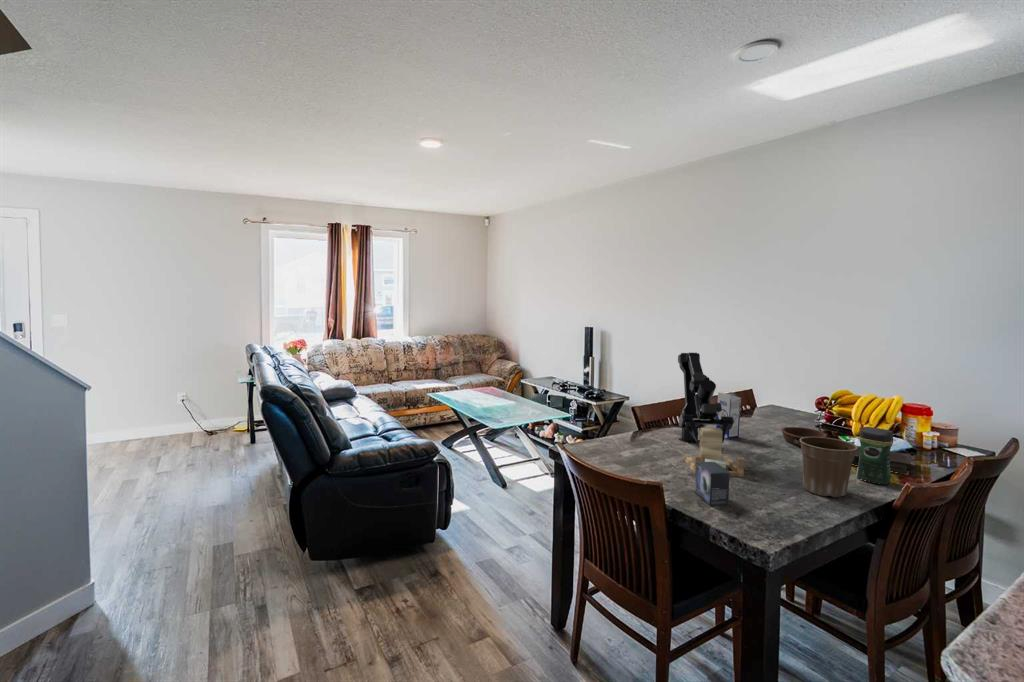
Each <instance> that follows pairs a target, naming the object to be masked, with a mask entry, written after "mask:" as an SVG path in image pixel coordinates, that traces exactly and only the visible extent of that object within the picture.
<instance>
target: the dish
mask: <svg viewBox="0 0 1024 682" xmlns="http://www.w3.org/2000/svg"><path fill="white" fill-rule="evenodd" d="M780 431H781V433H782V437H783V439H784V440H785V441H786V442H787V443H790V444H794V445H797V446H799V447H801V442H800V438H803V437H825V438H827V433H825V432H823V431H821V430H817V429H813V428H809V427H803V426H799V427H798V426H786V427H782V428H780Z"/></svg>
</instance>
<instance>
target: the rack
mask: <svg viewBox="0 0 1024 682" xmlns="http://www.w3.org/2000/svg"><path fill="white" fill-rule="evenodd" d="M684 461H685V462H686V464H687V465H688V467H689V468H690V469H691V471H692V472H693V474H694V475H695V476H696V467H697V462H701V457H700V456H699V455H694V458H693V459H692V457H691V456H690V454H684ZM723 461H726V466H727V467H728V468H729V469H731V470H728V471H729V472H730V477H741V478H744V471H745V470H744V469H745V458H744V457H742V456H741V457H739V456H738V457H737V458H736V463H735V462H734V461H733V460H732V459H731V458H730V457H729V456H727V455H724V456H723Z"/></svg>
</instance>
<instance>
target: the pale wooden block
mask: <svg viewBox="0 0 1024 682" xmlns="http://www.w3.org/2000/svg"><path fill="white" fill-rule="evenodd" d="M699 429H700V431H699V440H700V442H699V449H698V450H699V451H698V456H700V457H701V462H705V459H712V460H722V449H723V448H722V447H723V443H722V433H723V431H722V430H721V429H720V428H715V427H701V428H699Z"/></svg>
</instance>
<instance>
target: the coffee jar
mask: <svg viewBox="0 0 1024 682" xmlns="http://www.w3.org/2000/svg"><path fill="white" fill-rule="evenodd" d="M858 436H859V437H858V440H859V443H860V446H861V449H860V457H859V463H858V467H857V469H856V478H857V479H858V478H859V480H860V479H862V480H861V481H863V480H866V481H870V482H874V483H873V484H875V483H880V484H879V485H888V483H889V484H890V483H891V476H892V475H891V474H892V473H891V472H890V451H891V448H892V446H893V444H894V433H893V430H892V429H891V430H890V429H885V428H878V427H873V426H867V425H865V426H863V427H861V429H860V432H859V435H858ZM866 481H865V482H866ZM870 482H869V483H870Z"/></svg>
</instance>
